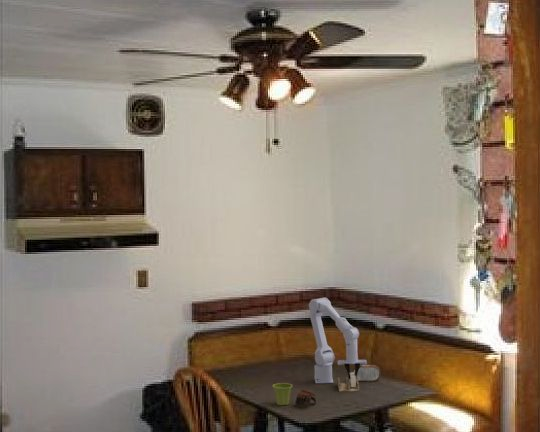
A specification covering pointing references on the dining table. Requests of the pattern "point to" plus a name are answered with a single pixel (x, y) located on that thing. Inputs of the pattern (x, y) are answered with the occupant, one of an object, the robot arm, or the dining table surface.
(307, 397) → the pottery mug
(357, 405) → the dining table surface
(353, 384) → the tile
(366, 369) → the tin
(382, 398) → the dining table surface
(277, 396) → the plant pot
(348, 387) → the rack
